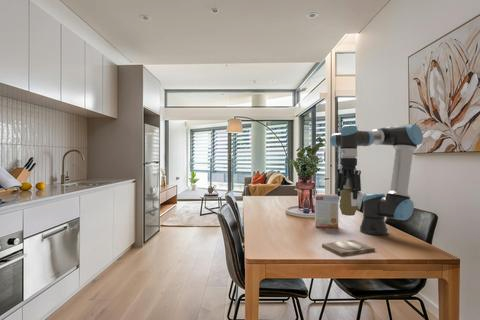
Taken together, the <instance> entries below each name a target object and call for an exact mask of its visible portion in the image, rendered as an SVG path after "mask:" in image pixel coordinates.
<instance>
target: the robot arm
mask: <svg viewBox="0 0 480 320" xmlns="http://www.w3.org/2000/svg"><path fill="white" fill-rule="evenodd" d="M423 141H424V136H423V131H422V129H421V127H420V126H419V125H417V124H414V123H411V124H399V125H390V126H386V127H381V128H375V129H373V130H359V129H358V126H357V125H343V126H341V128H340V132H335V133H332V134H331V136H330V138H329V142H330V145H331V146H332V147H337V148H340V166H341V168H339V169H338V168H337V181H336V189H338V190H339V196H340V198H341V190H343V189H344V188H343V185H346V181H347V178H349V179H350V184H351V188H352V191H351V206H356V201H357V200H358V193H359V192H361V191H362V183H361V181H362V180H361V174H362V170H360V169H359V170H358V169H357V166H358V159H357V157H358V147H369V146H371V145H374V146H375V145H376V146H379V145H381V146H392V147H393V149H394V150H395V153H394V160H393V168H392V174H391V180H390V181H391V182H390V188H389V189H390V190H389V191H388V192H386V194H385V193H367V194H363V200H362V202H363V203H362V209H363V210H362V212H363V213H362V220H361V225H360V226H359V231H360V232H361V233H364V234H367V235H372V236H373V235H375V236H383V235H384V236H386V235H388V234H389V231H388V227H387V224H386V220H385V218H390V219H395V220H398V221H407V220H408V219H409V218H410V217H411V216H412V214H413V213H414V209H415V206H414V201H412V200H411V196H410V195H409V193H408V191H409V184H410V176H411V169H412V163H413V162H412V161H413V153H414V151H416V150H417V149H418V147H417V146H419V145H421V144H422V143H423Z"/></svg>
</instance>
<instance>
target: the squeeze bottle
mask: <svg viewBox="0 0 480 320" xmlns="http://www.w3.org/2000/svg"><path fill="white" fill-rule="evenodd" d="M343 188H344V189H343V190H341V197H340V199H339V205H338V208H339V209H340V212H341V213H340V214H341V215H342V216H348V217H350V216H351V217H352V216H355V215H356V212H357V209H358V203H357V201H356V206H351V191H352V188H351V184H350V179H349V178H347V181H346V185H343Z"/></svg>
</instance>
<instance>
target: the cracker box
mask: <svg viewBox="0 0 480 320" xmlns="http://www.w3.org/2000/svg"><path fill="white" fill-rule="evenodd" d="M314 227H315V228H324V229H325V228H327V229H329V228H332V229H338V228H339V195H338V194H336V193H331V194H330V193H329V194H328V193H315V194H314Z"/></svg>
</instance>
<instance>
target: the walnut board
mask: <svg viewBox="0 0 480 320" xmlns="http://www.w3.org/2000/svg"><path fill="white" fill-rule="evenodd" d="M321 247H322V248H324V249H325V250H327V251H330V252H332V253H333V254H336V255H338V256H340V257H344V256H350V255H358V254H365V253H373V252H376V248H375V247H374V246H370V245H368V244H365V243H364V242H360V241H357V240H355V239H351V240H349V239H348V240H342V241H334V242H325V243H322V244H321Z"/></svg>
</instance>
